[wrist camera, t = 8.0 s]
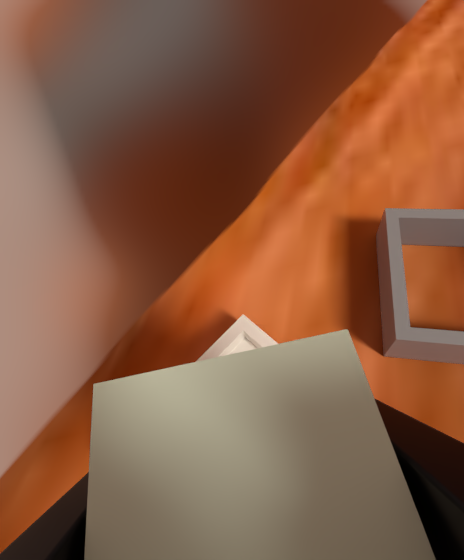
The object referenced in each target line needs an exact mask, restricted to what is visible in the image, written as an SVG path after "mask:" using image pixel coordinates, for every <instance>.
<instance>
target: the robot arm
mask: <svg viewBox="0 0 464 560" xmlns="http://www.w3.org/2000/svg"><path fill="white" fill-rule="evenodd" d="M375 402H376V404H377V407H378V410H379V412H380V415H381V417H382V420H383V423H384V425H385V428H386V431H387V433H388V436H389V438H390V441H391V444H392V446H393V449H394V451H395V454H396V457H397V459H398V462H399V465H400V467H401V470H402V472H403V475H404V478H405V480H406V483H407V486H408V488H409V491H410V493H411V496H412V499H413V501H414V504H415V506H416V509H417V512H418V514H419V517H420V520H421V522H422V525H423V527H424V530H425V533H426V535H427V538H428V540H429V543H430V546H431V548H432V551H433V554H434V556H435V559H436V560H464V443H462V442H460V441H458V440H456V439H454V438H452V437H450V436H448V435H446V434H444V433H442V432H440V431H438V430H436V429H434V428H432V427H430V426H428V425H426V424H424V423H422V422H420V421H418V420H416V419H414V418H412V417H410V416H408V415H406V414H404V413H402V412H400V411H398V410H396V409H394V408H392V407H390V406H388V405H386V404H384V403H382V402H380V401H378V400H376V399H375ZM88 478H89V472H88V473H87V474H86V475H85V476H84V477H83V478H82V479H81V480H80V481H79V482H78V483H77V484H75V485H74V486H73V487H72V488H71V489H70V490H69V491H68V492H67V493H66V494H65V495H63V496H62V497H61V498H60V499H59V500H58V501H57V502H56V503H55V504H54V505H53V506H52V507H50V508H49V509H48V510H47V511H46V512H45V513H44V514H43V515H42V516H41V517H40V518H39V519H37V520H36V521H35V522H34V523H33V524H32V525H31V526H30V527H29V528H28V529H27V530H25V531H24V532H23V533H22V534H21V535H20V536H19V537H18V538H17V539H16V540H15V541H14V542H12V543H11V544H10V545H9V546H8V547H7V548H6V549H5V550H4V551H3V552H2V553H1V554H0V560H84V554H85V535H86V516H87V497H88Z"/></svg>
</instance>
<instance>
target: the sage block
mask: <svg viewBox="0 0 464 560" xmlns="http://www.w3.org/2000/svg"><path fill="white" fill-rule="evenodd" d="M84 560H436V559H435V556H434V554H433V551H432V548H431V546H430V543H429V540H428V538H427V535H426V533H425V530H424V527H423V525H422V522H421V520H420V517H419V514H418V512H417V509H416V506H415V504H414V501H413V499H412V496H411V493H410V491H409V488H408V486H407V483H406V480H405V478H404V475H403V472H402V470H401V467H400V465H399V462H398V459H397V457H396V454H395V451H394V449H393V446H392V444H391V441H390V438H389V436H388V433H387V431H386V428H385V425H384V423H383V420H382V417H381V415H380V412H379V410H378V407H377V404H376V402H375V399H374V397H373V394H372V391H371V389H370V386H369V383H368V381H367V378H366V376H365V373H364V370H363V368H362V365H361V363H360V360H359V357H358V355H357V352H356V349H355V347H354V344H353V342H352V339H351V336H350V334H349V331H348V329H345V330H341V331H336V332H331V333H327V334H322V335H318V336H313V337H308V338H304V339H299V340H294V341H290V342H285V343H281V344H276V345H271V346H267V347H262V348H257V349H253V350H248V351H244V352H239V353H234V354H230V355H225V356H221V357H216V358H211V359H207V360H202V361H197V362H193V363H188V364H184V365H179V366H174V367H170V368H165V369H160V370H156V371H151V372H147V373H142V374H137V375H133V376H128V377H123V378H119V379H114V380H110V381H105V382H100V383H96V384H93V403H92V422H91V441H90V460H89V478H88V497H87V516H86V535H85V554H84Z"/></svg>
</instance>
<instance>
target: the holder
mask: <svg viewBox="0 0 464 560" xmlns="http://www.w3.org/2000/svg"><path fill="white" fill-rule="evenodd" d="M376 244H377V259H378V275H379V291H380V307H381V323H382V339H383V354H384V356H386V357H396V358H406V359H416V360H426V361H436V362H446V363H456V364H464V332H462V331H450V330H438V329H425V328H413V327H410V319H409V310H408V301H407V291H406V282H405V273H404V263H403V254H402V245H401V244H403V245H431V246H459V247H464V210H455V209H391V208H385V210H384V213H383V216H382V219H381V222H380V225H379V228H378V231H377V234H376Z"/></svg>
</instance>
